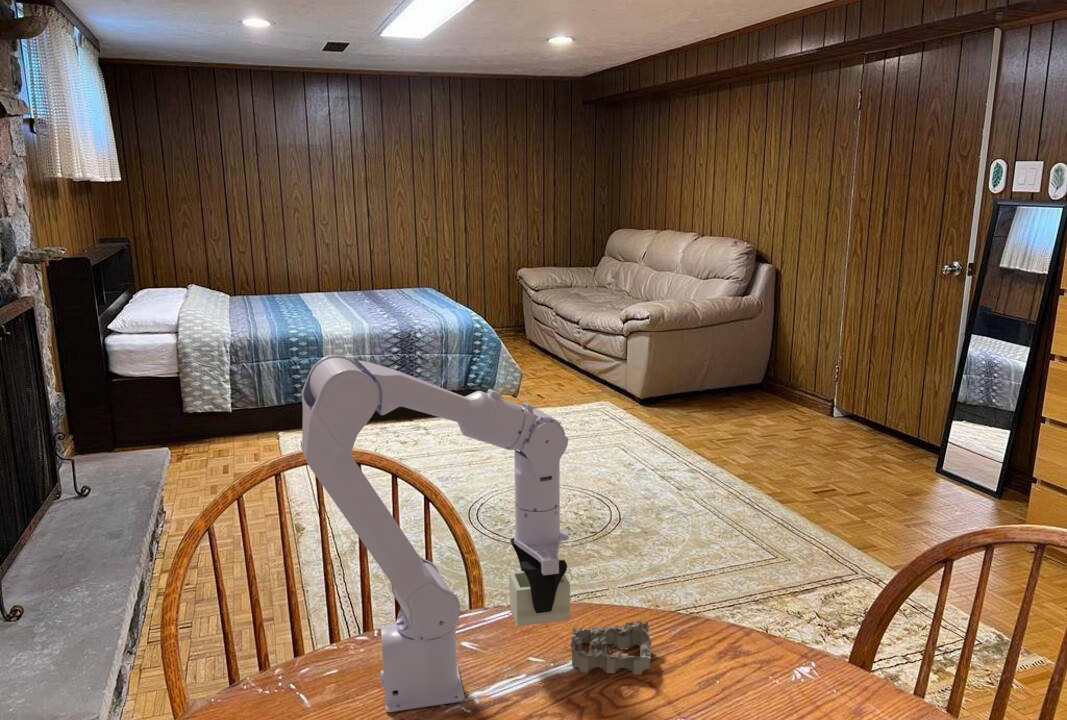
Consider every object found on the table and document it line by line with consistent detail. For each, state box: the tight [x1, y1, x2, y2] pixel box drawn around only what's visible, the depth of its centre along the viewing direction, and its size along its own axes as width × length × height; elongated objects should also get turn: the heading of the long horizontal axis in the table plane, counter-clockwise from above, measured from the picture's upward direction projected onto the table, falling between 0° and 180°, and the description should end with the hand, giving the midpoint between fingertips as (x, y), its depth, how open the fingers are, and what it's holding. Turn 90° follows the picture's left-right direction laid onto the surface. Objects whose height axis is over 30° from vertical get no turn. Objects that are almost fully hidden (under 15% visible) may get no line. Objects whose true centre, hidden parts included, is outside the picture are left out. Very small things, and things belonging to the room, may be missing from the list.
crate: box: [508, 570, 571, 627], centre depth 104 cm, size 7×5×5 cm
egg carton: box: [570, 621, 652, 675], centre depth 105 cm, size 11×8×4 cm
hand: (538, 600), depth 104 cm, fingers closed on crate, 5 cm apart
